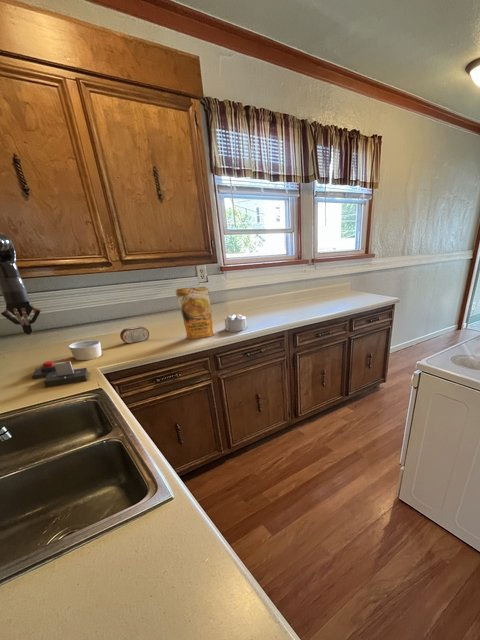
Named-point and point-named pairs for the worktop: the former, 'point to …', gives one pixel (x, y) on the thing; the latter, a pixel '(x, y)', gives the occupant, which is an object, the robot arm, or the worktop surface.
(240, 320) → the lumpy-topped squat cylinder
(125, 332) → the tin
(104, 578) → the worktop surface
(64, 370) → the grey rectangular block
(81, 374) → the control panel
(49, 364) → the power button
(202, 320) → the pancake mix bag
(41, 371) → the power switch
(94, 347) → the ramekin
